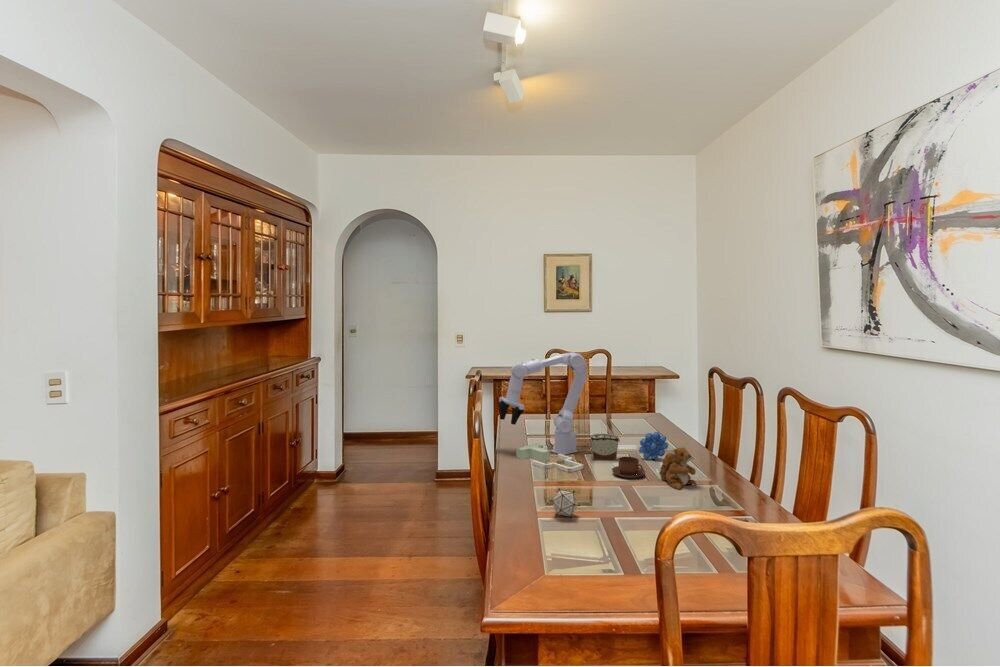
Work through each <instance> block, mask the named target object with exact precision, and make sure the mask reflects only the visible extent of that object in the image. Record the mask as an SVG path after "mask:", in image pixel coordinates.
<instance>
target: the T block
mask: <svg viewBox="0 0 1000 667" xmlns="http://www.w3.org/2000/svg"><path fill="white" fill-rule="evenodd" d="M515 449H516V450H515V452H516V453H515V454H516V456H515V457H516V458H517V457H518V459H520V458H521V460H526V459H531V460H532V459H533V460H535V461H538V462H541V463H544V462H549V461H551V455H550V454H551V453H550V452H551V451H550V450H549V449H546V448H544V445H543V444H541V443H533V444H527V445H524V446H519V447H516V448H515Z"/></svg>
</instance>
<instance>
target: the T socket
mask: <svg viewBox="0 0 1000 667" xmlns="http://www.w3.org/2000/svg"><path fill="white" fill-rule="evenodd" d="M557 458H558V459H561V460H563V464H565V465H567V466H565V465H562V464H559V463H558V462H557V463H556V462H550V463H544V462H542V461H539V460H536V459H533V460H532V465H533V466H535V467H536V466H537V467H539V468H541V469H546V470H547V469H551V468H554V469H557V470H562V471H563V472H564V471H565V472H566V473H573V472H574V473H575V472H576V471H582V470H584V469H585V465H584V464H583V463H579V462H576V461H574V457H571V456H568V455H561V454H558V453H557ZM569 466H570V467H569Z"/></svg>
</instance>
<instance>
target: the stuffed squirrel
mask: <svg viewBox="0 0 1000 667" xmlns="http://www.w3.org/2000/svg"><path fill="white" fill-rule="evenodd" d="M671 451H672V452H669V451H668V452H667V453H665V455H664V458H663V459H662V460H663V461H662V465H661V466H660V471H659V472H658V474H659V475H660V478H661V479H662V481H664V480H667V481H666V482H667V484H668V486H670V487H672V488H673V489H675V490H681V489H682V485H684V486H685V485H686V484H696V485H697V481H696V480H694V479H692V478H691V476H690V475H692V476H693V475H695V474H696V469H695V468H694V467H693V466H690V465H689V464H688V463H689V462H691V461H693V460H694V457H693V456H692V455H691V454H690V452H689V451H688V450H687V449H686V447H677V448H674V447H673V448H671Z"/></svg>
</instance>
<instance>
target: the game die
mask: <svg viewBox="0 0 1000 667" xmlns="http://www.w3.org/2000/svg"><path fill="white" fill-rule="evenodd" d="M557 490H558V492H557V493H556V494H555V496H554V497H553V498H552V499H549V502H551V503H552V506H553V508H554V510H555V512H556V514H555V517H557V516H558V515H560V516H564V517H565V516H566V517H569V518H570V519H571V520H572V519H573V514H574V512H575V510H576V509H577V508H578V507H581V504H579V503H578V501H577V499H576V496H575V492H576V489H574V490H572V491H567V490H562V489H561V488H560V487H558V489H557Z"/></svg>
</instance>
